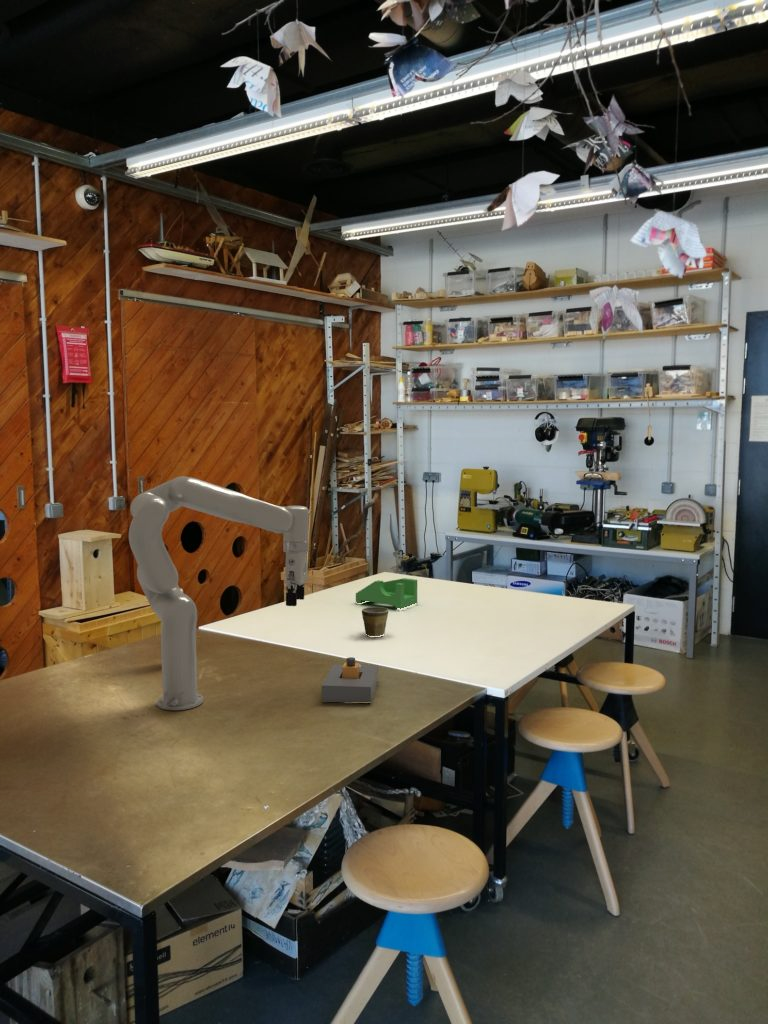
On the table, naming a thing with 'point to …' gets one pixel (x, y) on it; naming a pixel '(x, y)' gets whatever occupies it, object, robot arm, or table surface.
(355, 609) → the table surface
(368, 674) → the socket
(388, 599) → the ramp block with notch
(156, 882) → the table surface
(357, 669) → the plug
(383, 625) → the ceramic cup
